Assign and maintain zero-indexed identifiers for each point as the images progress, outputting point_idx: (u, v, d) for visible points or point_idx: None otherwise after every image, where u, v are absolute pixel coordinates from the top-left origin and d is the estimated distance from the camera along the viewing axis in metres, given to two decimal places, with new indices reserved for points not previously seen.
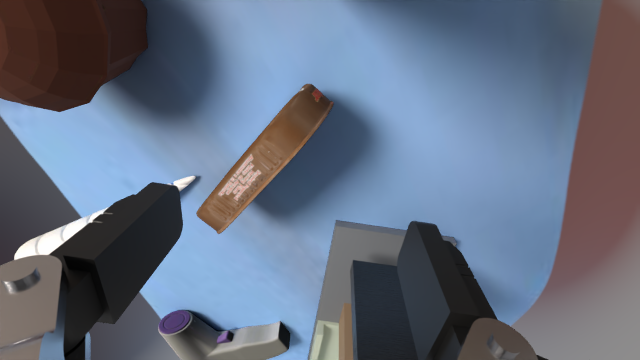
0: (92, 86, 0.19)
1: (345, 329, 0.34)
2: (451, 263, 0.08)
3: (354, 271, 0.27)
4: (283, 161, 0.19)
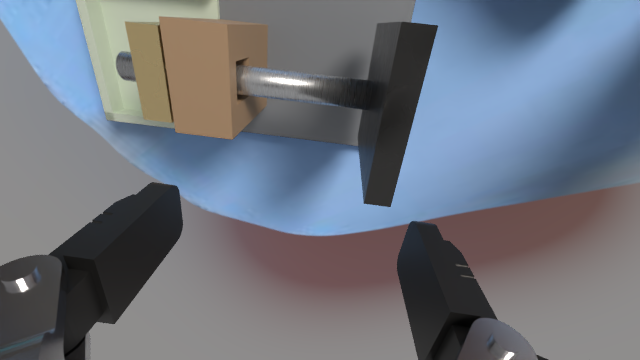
0: None
1: (256, 26, 0.22)
2: (451, 263, 0.08)
3: None
4: None
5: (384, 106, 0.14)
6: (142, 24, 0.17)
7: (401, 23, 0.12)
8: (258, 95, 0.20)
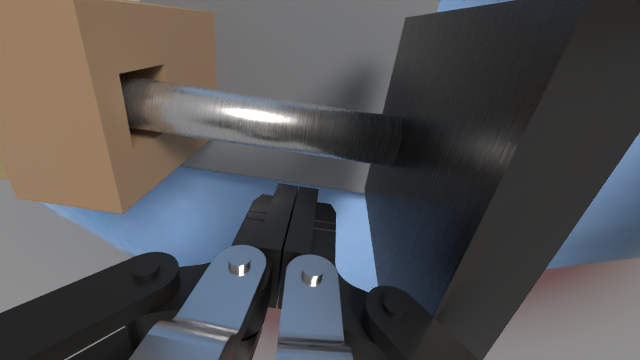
0: None
1: (183, 12, 0.13)
2: (311, 217, 0.09)
3: None
4: None
5: (476, 233, 0.05)
6: None
7: None
8: (197, 136, 0.11)
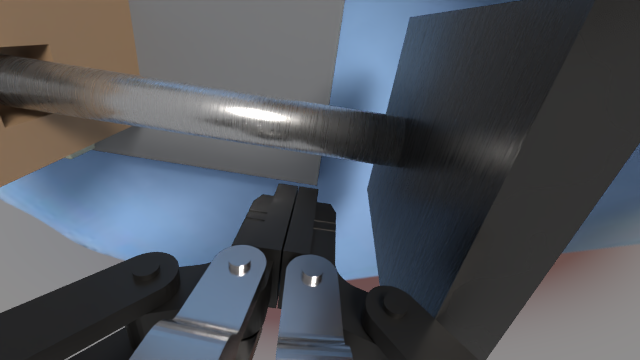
0: None
1: None
2: (311, 217, 0.09)
3: None
4: None
5: (478, 234, 0.05)
6: None
7: None
8: (201, 135, 0.11)
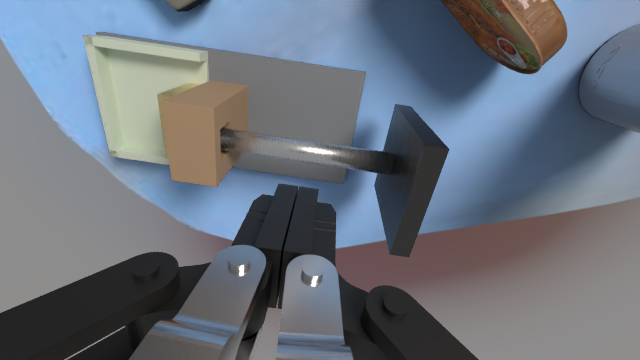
0: None
1: (237, 93, 0.28)
2: (311, 217, 0.09)
3: None
4: (532, 35, 0.21)
5: (410, 194, 0.20)
6: (169, 96, 0.25)
7: (425, 146, 0.18)
8: (304, 161, 0.26)
